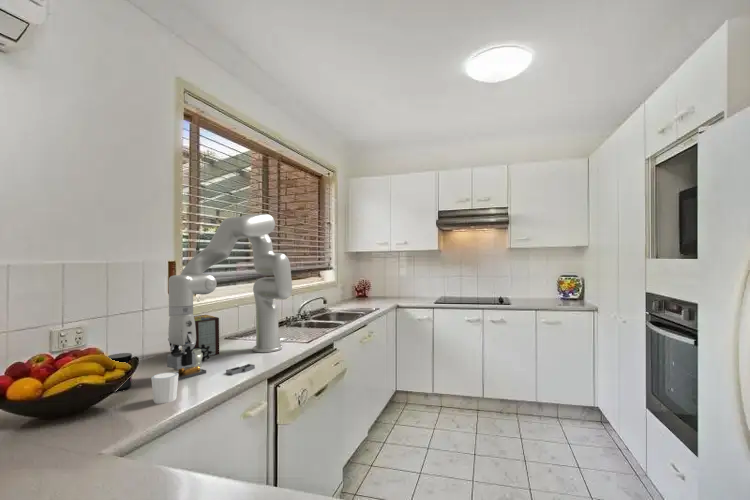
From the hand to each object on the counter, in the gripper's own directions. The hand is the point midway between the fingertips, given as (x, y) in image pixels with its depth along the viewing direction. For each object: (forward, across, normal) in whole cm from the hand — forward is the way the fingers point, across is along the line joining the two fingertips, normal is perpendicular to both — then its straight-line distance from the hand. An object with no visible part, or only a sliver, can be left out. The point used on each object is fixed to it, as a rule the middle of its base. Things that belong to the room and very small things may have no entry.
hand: (181, 363), depth 133 cm
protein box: (+5, +26, -22) cm, 35 cm away
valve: (+5, +10, -12) cm, 16 cm away
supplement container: (+5, +4, +18) cm, 19 cm away
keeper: (+5, 0, -1) cm, 5 cm away
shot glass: (+5, -18, +15) cm, 24 cm away
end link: (+1, 0, 0) cm, 1 cm away
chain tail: (+5, -12, -14) cm, 19 cm away
